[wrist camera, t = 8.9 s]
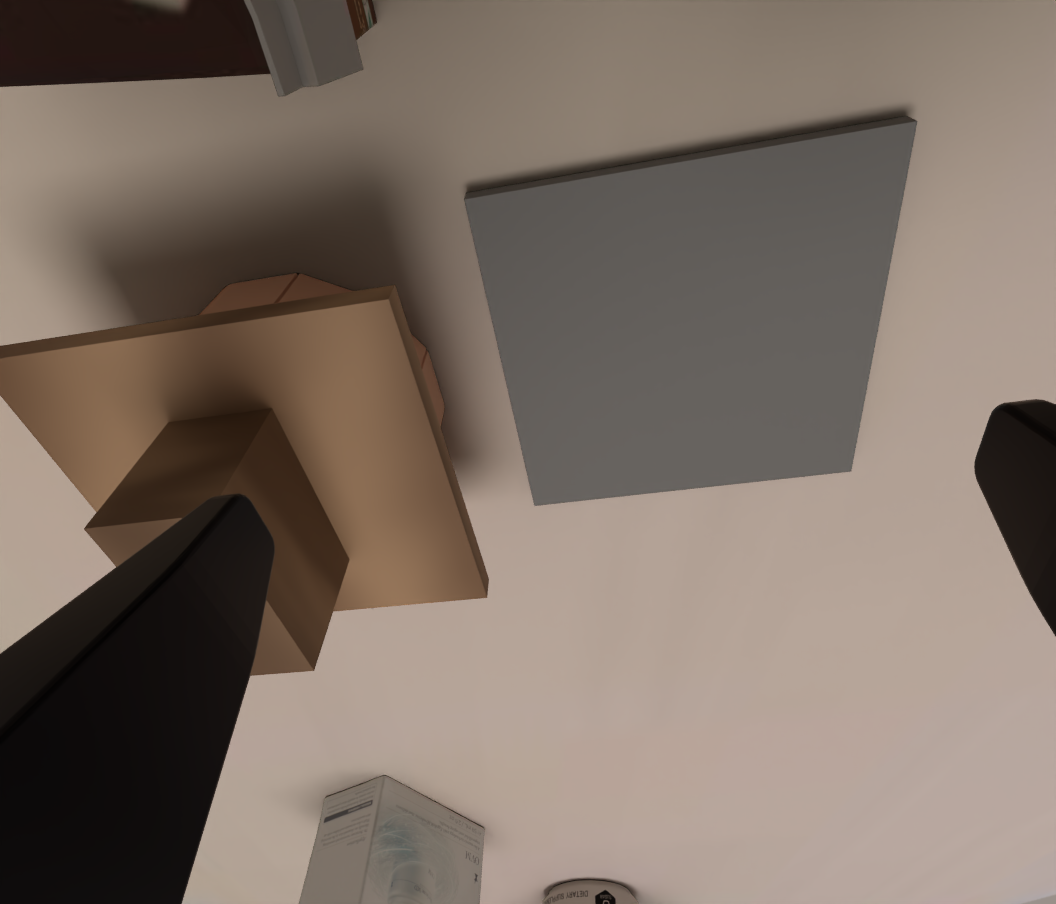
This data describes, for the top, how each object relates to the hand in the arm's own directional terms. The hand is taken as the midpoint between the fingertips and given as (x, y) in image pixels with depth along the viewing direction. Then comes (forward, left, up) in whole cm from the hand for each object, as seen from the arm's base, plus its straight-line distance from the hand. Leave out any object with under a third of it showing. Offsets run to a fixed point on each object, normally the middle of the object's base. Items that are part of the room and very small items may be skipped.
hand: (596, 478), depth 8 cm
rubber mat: (-3, +6, -13) cm, 15 cm away
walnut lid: (+10, +6, -8) cm, 14 cm away
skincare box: (+17, +41, -13) cm, 46 cm away
